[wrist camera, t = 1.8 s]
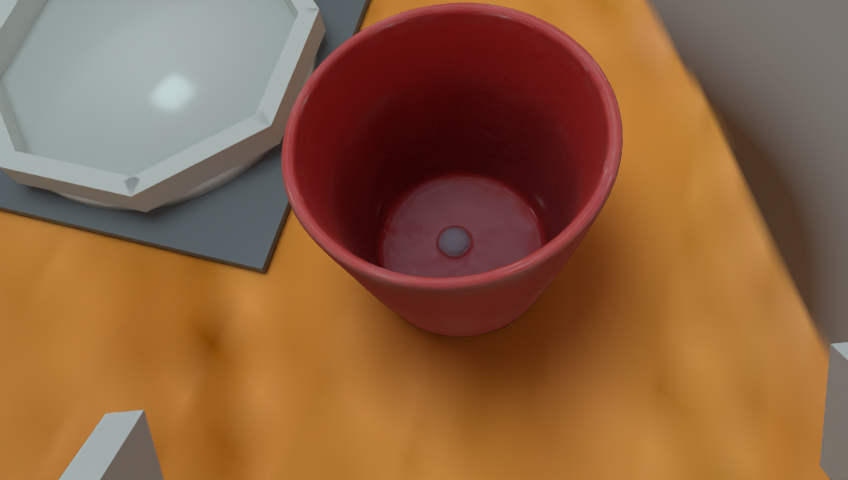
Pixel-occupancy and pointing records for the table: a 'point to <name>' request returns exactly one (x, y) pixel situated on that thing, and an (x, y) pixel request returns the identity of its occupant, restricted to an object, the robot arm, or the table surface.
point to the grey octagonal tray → (159, 115)
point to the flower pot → (453, 160)
